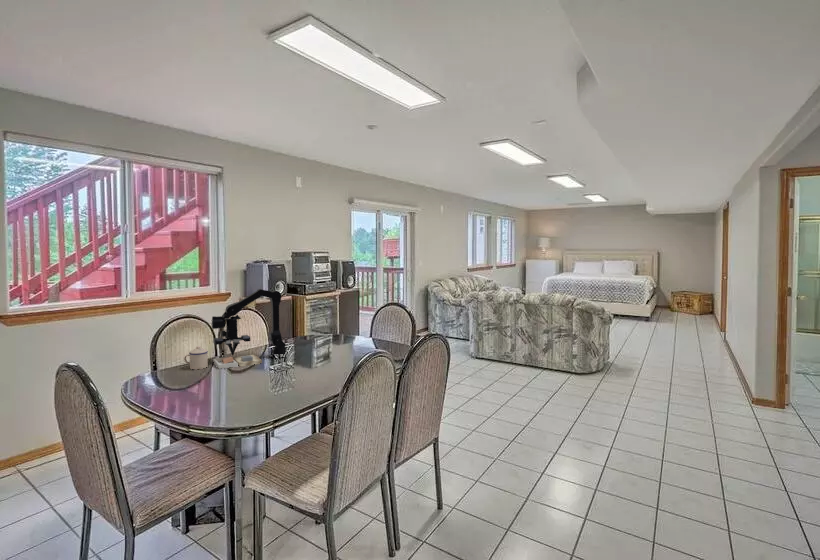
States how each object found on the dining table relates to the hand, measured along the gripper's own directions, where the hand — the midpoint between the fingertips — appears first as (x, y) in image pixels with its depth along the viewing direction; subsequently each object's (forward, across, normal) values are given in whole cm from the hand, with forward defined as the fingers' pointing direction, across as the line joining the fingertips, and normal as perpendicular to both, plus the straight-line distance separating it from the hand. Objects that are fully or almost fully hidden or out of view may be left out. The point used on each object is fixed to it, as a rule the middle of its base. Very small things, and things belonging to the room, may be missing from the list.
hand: (232, 354), depth 245 cm
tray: (+4, +4, +4) cm, 7 cm away
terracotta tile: (+3, +2, 0) cm, 4 cm away
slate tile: (+2, -6, +8) cm, 10 cm away
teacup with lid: (+5, +19, +2) cm, 20 cm away
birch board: (+4, -7, +4) cm, 9 cm away
